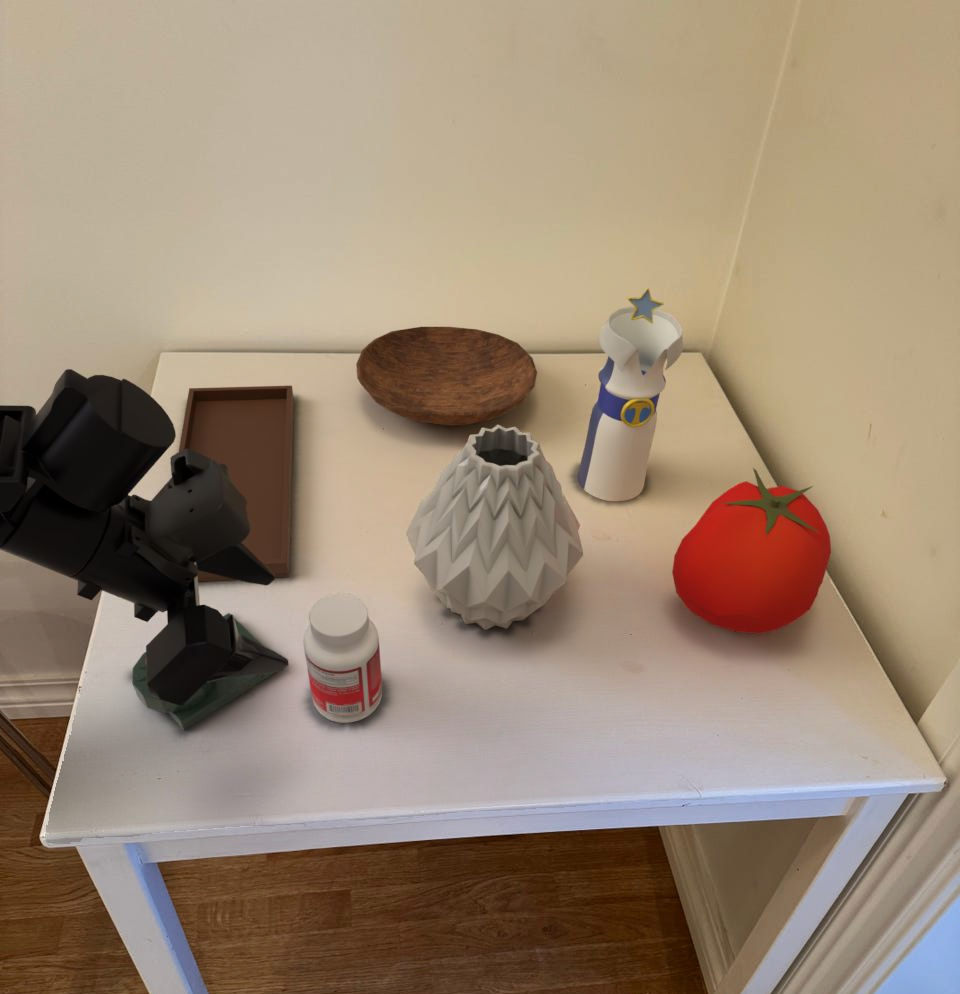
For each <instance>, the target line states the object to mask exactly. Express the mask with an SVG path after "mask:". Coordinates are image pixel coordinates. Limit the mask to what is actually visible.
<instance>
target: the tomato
mask: <svg viewBox="0 0 960 994" xmlns="http://www.w3.org/2000/svg"><path fill="white" fill-rule="evenodd" d="M752 470H753V473H754V476H755V481H756V484H757V485H756V484H753V483H751V482H749V481H747V480H746V481H742V482H738V483H737V484H736V485H733V486H732V487H730V488H729V489H727V490H726V491H724V492H723V493H722V494H721V495H719V496H718V497H717V498H715V499H714V500H712V502H711V503H710V505H709V506H708V508H707V509H706V510H705V511H704V513H703V514H702V516H701V517H700V518H699V519H698V521H697V522H696V524H695V525H694V526H693V527H692V528H691V529H690V530H689V531H688V532H687V534H685V536H684V537H683V538H682V539H681V540H680V543H679V545H678V547H677V549H676V552H675V554H674V557H673V564H672V565H673V566H672V572H671V573H672V579H673V584H674V588H675V593H676V594H677V596H678V597H679V599H680V600H681V602H682V603H683V604H684V605H685V607H686V608H687V609H688V611H690V613H692V614H694V615H695V616H696V617H699V618H700V619H702V620H703V621H705V622H707V623H709V624H710V625H712V626H715V627H719V628H723V629H726V630H729V631H732V632H734V633H735V632H736V633H749V634H758V635H759V634H764V633H770V632H774V631H778V630H780V629H782V628H784V627H787V626H788V625H790V624H793V623H794V622H795V621H797V620H799V619H800V618H802V617H803V616H804V615H805V614H806V613H808V612H809V611H810V610H811V608H812V606H813V605H814V602H815V601H816V599H817V597H818V594H819V590H820V588H821V586H822V585H823V582H824V578H825V575H826V571H827V569H828V564H829V561H830V558H831V554H832V547H831V535H830V532H829V529H828V526H827V524H826V522H825V520H824V518H823V517H822V515H821V513H820V511H819V509H818V508H817V507H816V506H815V504H813V503H812V502H811V500H810V499H809V498H808V497H807V496H806V495H805V494H804V493H805V492H807V491H808V490H810V489H812V488H814V485H812V486H809V487H805V488H804V489H800V490H798V489H794V488H789V487H786V486H784V485H783V486H782V485H779V486H773V487H769V488H767V487H766V486H765V484H764V482H763V481H762V478H761V477H760V475H759V473H758V471H757V469H755V468H754V467H752Z"/></svg>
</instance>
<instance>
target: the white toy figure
mask: <svg viewBox="0 0 960 994" xmlns="http://www.w3.org/2000/svg"><path fill="white" fill-rule="evenodd" d="M627 300H628V301H629V303H630V304H631V305H632V306H626V307H622V308H619V309H617V310H615V311H614V312H612V313H611V314H610V315H609V317H608V319H607V321H606V322H605V323H604V324H603V326H602V328H601V329H600V331H599V335H598V341H599V345H600V348H601V350H602V351H603V353H604V354H606V356H607V360H606V362H605V363H604V365H603V366H602V367H601V368H600V369H599V371H598V374H597V376H598V380H599V382H600V385H599V390H598V391H599V392H598V396H597V400H596V401H595V403H594V405H593V407H592V410H591V412H590V417H589V423H588V427H587V433H586V438H585V443H584V446H583V447H584V448H583V451H582V455H581V460H580V464H579V468H578V472H577V481H578V484H579V486H580V487H581V488H582V490H584V491H585V492H586V493H587V494H588V495H590V496H592V497H594V498H597V499H600V500H602V501H608V502H624V501H629V500H632V499H634V498H636V497H637V496H639V495H640V494H641V493H642V492H643V490H644V486H645V481H646V475H647V469H648V464H649V459H650V455H651V451H652V445H653V441H654V436H655V433H656V427H657V421H658V414H657V407H658V403H659V398H660V395H661V393H662V392H663V391H664V390H665V388H666V385H667V381H666V378H665V375H664V371H667V370H668V369H669V368H670V367H672V366H673V365H674V364H675V363H676V362H677V361H678V360H679V358H680V357H681V355H682V353H683V349H684V338H683V329H682V327H681V325H680V323H679V321H678V320H677V319H676V318H675V317H674V316H673V315H671V314H670V313H668V312H666V311H663V310H661V309H658V308H660V307H662V306H663V305H665V303H664V302H663V301H659V300H657V299H653V298H652V295H651V291H650V288H649V287H646V289H645V291H644V292H643V293H642V294H641V295H640V296H639V297H636V296H629V297H627ZM665 363H666V366H665ZM664 366H665V369H664Z"/></svg>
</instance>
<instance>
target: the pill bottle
mask: <svg viewBox="0 0 960 994" xmlns="http://www.w3.org/2000/svg"><path fill="white" fill-rule="evenodd" d="M308 614H309V615H308V620H309V625H308V626H307V628H306V630H305V633H304V635H303V649H304V657H305V662H306V669H307V675H308V680H309V686H310V692H311V699H312V702H313V705H314V707H315V709H316V710H317V712H318V713H319V714H320V715H322V716H323V717H324V718H325V719H327V720H329V721H332V722H336V723H341V724H348V723H354V722H359V721H361V720H363V719H366V718H367V717H369V716H370V715H371V714H372V713H374V712H375V710H376V709H377V708H378V706H379V705H380V703H381V701H382V697H383V680H382V679H383V678H382V664H381V653H380V651H381V650H380V638H379V631H378V628H377V627H376V625H375V623H374V622H373V621H372V620H371V619H370V617H369V609H368V607H367V605H366V603H365V602H364V601H363V600H362V599H361V598H360V597H358V596H357V595H354V594H351V593H347V592H335V593H330V594H327V595H324V596H323V597H320V598H319V599H318V600H317V601H316V602H314V603H313V605H312V606H311V608H310V610H309V613H308Z"/></svg>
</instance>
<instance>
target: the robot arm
mask: <svg viewBox="0 0 960 994" xmlns="http://www.w3.org/2000/svg"><path fill="white" fill-rule="evenodd" d="M172 421H173V420H172V419H171V417H170V416H169V414H168V413H167V411H165V409H164V408H163V407H162V406H161V404H160V403H158V401H156V400H155V398H154V397H152V396H151V394H149V393H147V392H146V391H145V390H143V388H141V387H140V386H138V385H136V384H135V383H133V382H132V381H129V380H128V379H127V378H122V379H119V378H116V377H114V376H110V375H105V374H93V375H91V376H89V377H86V376H84V375H83V374H81V373H79V372H77V371H75V370H74V369H72V368H66V369H65V370H64V371H63V372H62V374H61V375H60V376H59V378H58V379H57V381H56V382H55V384H54V387H53V389H52V393H51V394H50V396H49V398H48V399H47V400H46V401H45V403H44V404H43V405H42V406H41V407H40V409H39V410H38V412H37V410H36V408H35V407H33V406H32V405H5V404H4V405H3V404H2V405H0V551H3V552H5V553H7V554H9V555H13V556H14V557H17V558H20V559H23V560H25V561H28V562H30V563H33V564H35V565H38V566H40V567H42V568H45V569H48V570H50V571H52V572H55V573H56V574H60V575H63V576H65V577H68V578H69V579H72V580H76V581H77V591H76V596H79V597H82V598H84V599H87V600H89V601H93V600H94V599H95V598H96V597H97V595H98V594H99V593H100V592H101V591H102V592H105V593H107V594H110V595H113V596H116V597H117V598H120V599H122V600H125V601H128V602H129V603H132V604H133V617H134V618H136V619H138V620H141V621H143V622H146V623H148V622H149V621H150V620H151V619H152V618H153V617H154V616H155V615H156V614H157V613H158V612H161V613H165V612H166V619H167V623H166V625H165V626H164V627H163V628H162V629H161V630H160V631H159V632H158V634H156V635H155V636H154V637H153V638H152V640H150V641H149V643H147V645H146V646H145V652H146V665H147V686H148V688H149V691H150V693H151V696H152V697H155V698H158V699H161V700H164V701H167V702H170V703H173V704H176V705H179V706H182V705H183V704H184V703H185V702H186V701H188V700H189V699H190V698H191V697H192V696H193V695H194V694H195V693H196V692H197V691H198V690H199V689H200V688H201V687H202V686H203V685H204V684H205V683H207V682H211V681H216V680H220V679H225V678H231V677H238V676H247V675H255V674H264V673H272V672H276V673H279V672H282V671H284V670H285V669H286V668H287V667H288V666H289V664H290V663H289V662H290V661H289V659H288V658H286V657H285V656H283V655H282V654H280V653H279V652H277V651H275V650H273V649H271V648H270V647H267V646H265V645H263V644H262V643H261V644H262V645H261V644H259V643H257V642H255V641H253V640H251V639H249V638H247V637H245V636H243V635H241V634H239V633H238V630H237V627H236V623H235V619H236V618H235V616H234V615H233V614H231V615H230V616H229V617H228V618H227V619H225V618H224V617H223V616H224V615H223V614H222V613H221V612H220V611H219V610H218V609H216V608H213V607H211V606H209V605H207V604H200V603H201V601H200V591H199V590H200V589H199V582H198V576H197V575H198V570H199V571H203V572H207V573H211V574H216V575H220V576H224V577H228V578H232V579H236V580H237V581H240V582H245V583H249V584H255V585H262V586H269V585H270V584H272V582H273V581H275V578H276V577H275V576H274V573H273V572H272V571H270V570H269V569H268V568H267V567H266V566H265V565H264V564H263V563H262V562H261V561H260V560H259V559H258V558H257V557H256V556H255V555H254V554H253V553H252V552H251V551H250V550H249V549H248V548H247V547H246V546H245V545H244V544H243V543H242V541H244V540H245V539H246V538H247V536H248V535H249V532H250V523H249V521H248V517H247V510H246V505H247V500H246V498H245V497H244V496H243V495H242V494H241V492H240V491H239V490H238V489H237V488H236V487H235V486H234V485H233V483H232V482H231V481H230V480H229V472H228V467H227V466H226V465H225V464H218V463H217V462H216V461H215V460H214V459H213V460H211V459H210V458H208V457H206V456H204V455H202V454H199V453H197V452H195V451H192V450H190V449H187V448H186V449H184V450H182V451H181V452H179V451H178V452H176V453H175V454H173V455H172V456H170V459H169V460H170V473H171V478H170V479H169V480H168V481H167V482H166V483H165V484H164V485H163V487H162V488H161V489H160V490H159V491H158V492H157V494H155V496H153V498H152V499H151V500H149V499H146V498H143V497H141V496H139V495H137V494H132V495H129V494H130V493H131V492H132V491H133V489H134V488H135V487H136V486H137V485H138V484H139V483H140V482H141V480H142V479H143V478H144V477H145V476H146V475H147V474H148V472H149V471H150V470H151V469H152V468H153V467H154V465H155V464H156V463H157V462H158V460H160V459H161V457H162V456H164V454H165V453H166V452H167V451H168V449H169V448H170V447H171V446H172V445H173V444H174V442H175V440H176V437H177V434H176V429H175V426H174V423H173V422H172ZM236 580H235V581H236ZM234 618H235V619H234Z"/></svg>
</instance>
